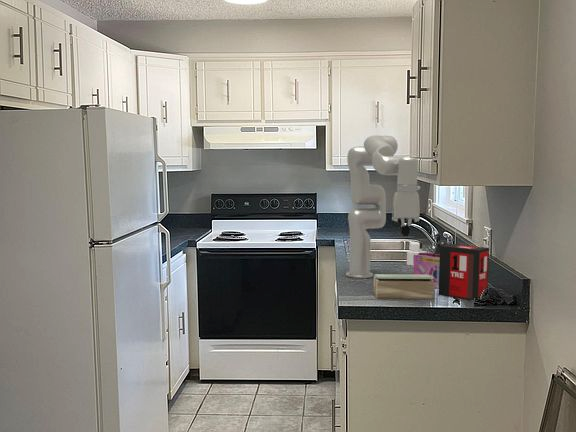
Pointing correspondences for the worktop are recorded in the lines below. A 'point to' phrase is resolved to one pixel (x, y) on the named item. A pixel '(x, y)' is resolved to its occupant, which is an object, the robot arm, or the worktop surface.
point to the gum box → (427, 266)
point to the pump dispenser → (437, 248)
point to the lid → (403, 276)
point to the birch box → (403, 288)
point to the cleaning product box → (463, 271)
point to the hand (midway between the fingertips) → (405, 235)
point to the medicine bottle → (414, 252)
